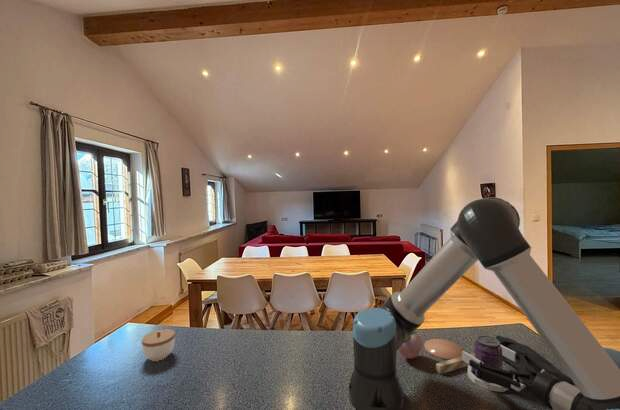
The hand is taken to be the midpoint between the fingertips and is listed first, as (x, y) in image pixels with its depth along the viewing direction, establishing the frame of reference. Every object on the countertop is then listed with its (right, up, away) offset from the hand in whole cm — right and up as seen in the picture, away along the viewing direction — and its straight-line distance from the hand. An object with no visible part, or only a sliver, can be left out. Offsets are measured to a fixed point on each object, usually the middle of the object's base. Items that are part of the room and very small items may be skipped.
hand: (479, 350), depth 88 cm
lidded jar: (-109, -10, +14) cm, 110 cm away
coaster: (-5, -7, +14) cm, 16 cm away
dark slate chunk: (+19, -7, +5) cm, 20 cm away
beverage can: (+1, -7, -3) cm, 8 cm away
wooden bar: (-4, -7, +4) cm, 9 cm away
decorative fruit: (-19, -8, +9) cm, 22 cm away
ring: (+1, -7, -3) cm, 8 cm away
